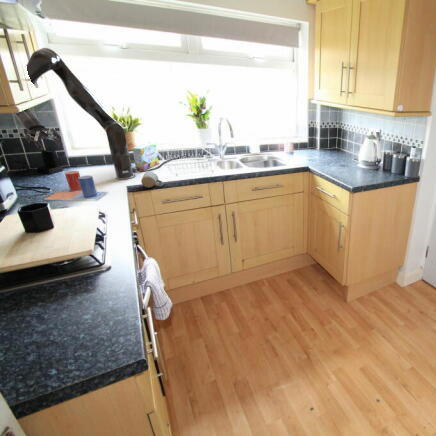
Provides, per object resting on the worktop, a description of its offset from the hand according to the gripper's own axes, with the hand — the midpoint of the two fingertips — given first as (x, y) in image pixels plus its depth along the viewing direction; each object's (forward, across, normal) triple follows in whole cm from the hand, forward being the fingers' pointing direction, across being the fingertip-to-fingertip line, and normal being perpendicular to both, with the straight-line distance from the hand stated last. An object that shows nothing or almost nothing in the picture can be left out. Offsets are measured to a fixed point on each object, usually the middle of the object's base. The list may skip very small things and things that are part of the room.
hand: (51, 146), depth 169 cm
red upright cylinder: (+24, 0, +8) cm, 25 cm away
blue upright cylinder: (+35, -3, -4) cm, 35 cm away
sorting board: (+31, -6, +1) cm, 32 cm away
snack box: (+18, +52, +14) cm, 57 cm away
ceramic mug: (+44, +25, -12) cm, 52 cm away
